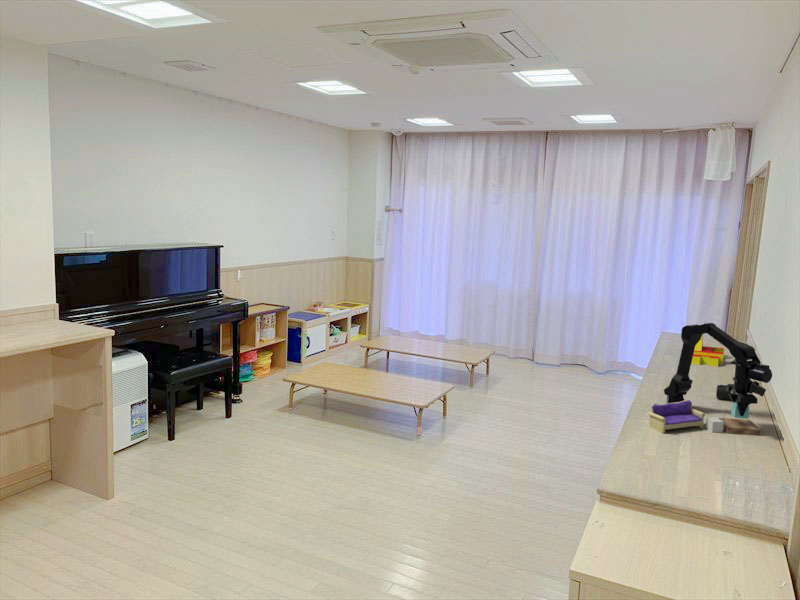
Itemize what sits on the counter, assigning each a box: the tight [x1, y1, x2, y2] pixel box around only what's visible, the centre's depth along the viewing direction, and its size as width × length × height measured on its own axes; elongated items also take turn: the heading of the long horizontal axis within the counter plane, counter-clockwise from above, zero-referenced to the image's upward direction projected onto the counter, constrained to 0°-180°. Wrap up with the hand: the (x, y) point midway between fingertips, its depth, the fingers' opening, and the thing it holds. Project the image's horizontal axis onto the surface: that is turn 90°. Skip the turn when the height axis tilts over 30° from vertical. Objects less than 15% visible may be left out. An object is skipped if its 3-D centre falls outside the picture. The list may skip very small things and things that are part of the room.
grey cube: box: [705, 417, 724, 433], centre depth 249 cm, size 4×4×4 cm
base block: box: [718, 417, 761, 437], centre depth 250 cm, size 12×12×3 cm
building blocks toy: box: [691, 334, 725, 367], centre depth 366 cm, size 19×25×18 cm
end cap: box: [715, 384, 732, 402], centre depth 289 cm, size 10×7×7 cm
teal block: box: [730, 401, 750, 420], centre depth 249 cm, size 5×5×5 cm
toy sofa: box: [648, 399, 706, 434], centre depth 251 cm, size 21×9×10 cm, turn 107°
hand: (739, 413), depth 249 cm, fingers closed on teal block, 5 cm apart
